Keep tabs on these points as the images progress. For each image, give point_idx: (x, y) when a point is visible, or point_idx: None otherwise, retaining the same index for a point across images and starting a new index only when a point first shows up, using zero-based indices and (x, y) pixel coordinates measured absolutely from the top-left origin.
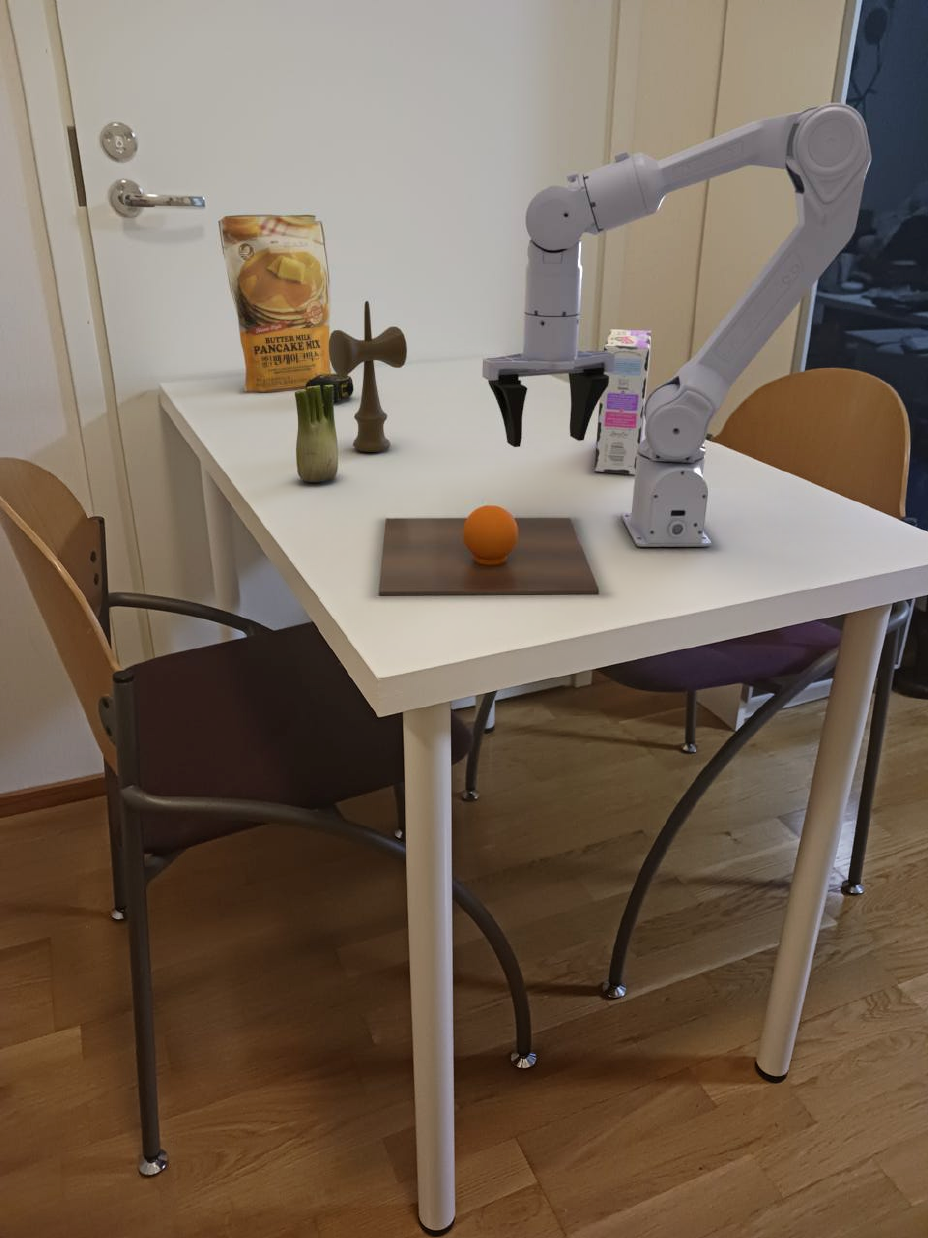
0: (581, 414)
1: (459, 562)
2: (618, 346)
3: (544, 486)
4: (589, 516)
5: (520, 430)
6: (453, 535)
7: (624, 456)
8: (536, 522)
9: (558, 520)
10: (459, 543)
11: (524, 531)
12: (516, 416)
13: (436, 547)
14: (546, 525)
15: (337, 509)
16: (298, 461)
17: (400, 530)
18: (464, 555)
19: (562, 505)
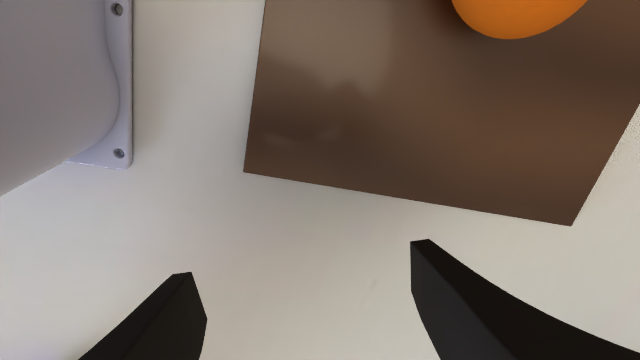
0: (149, 351)
1: None
2: None
3: (244, 334)
4: (197, 187)
5: (439, 267)
6: (499, 123)
7: None
8: (318, 160)
9: (271, 161)
10: (507, 78)
11: (358, 116)
12: (499, 299)
13: (558, 66)
14: (304, 139)
15: (609, 285)
16: None
17: (577, 166)
18: None
19: (236, 248)
